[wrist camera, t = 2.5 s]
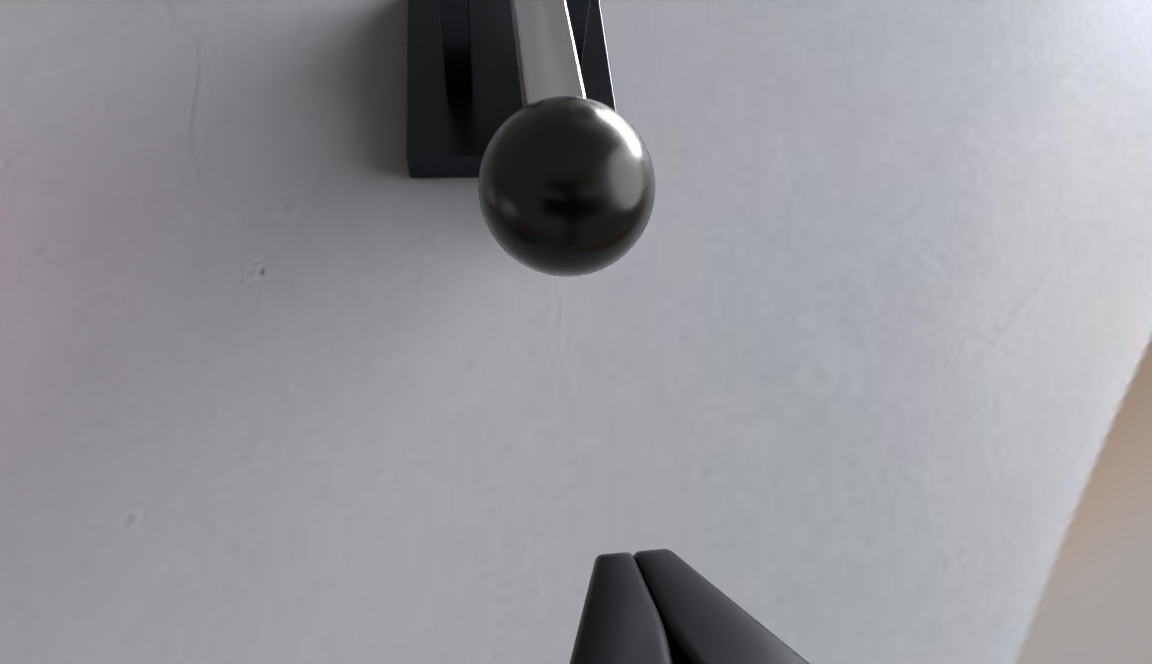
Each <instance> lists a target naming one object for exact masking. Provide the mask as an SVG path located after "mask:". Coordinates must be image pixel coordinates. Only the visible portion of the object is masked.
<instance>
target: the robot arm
mask: <svg viewBox="0 0 1152 664" xmlns="http://www.w3.org/2000/svg"><path fill="white" fill-rule="evenodd" d="M570 664H809V663H808V662H807V661H806V660H805V659H803V658H802V657H801V656H800V655H798V654H797V653H796V652H795V651H793V650H792V649H791V648H790V647H789V646H787V645H786V644H785V643H784V642H782V641H781V640H780V639H779V638H777V637H776V636H775V635H774V634H773V633H771V632H770V631H769V630H768V629H766V628H765V627H764V626H763V625H762V624H760V623H759V622H758V621H757V620H755V619H754V618H753V617H752V616H750V615H749V614H748V613H747V612H746V611H744V610H743V609H742V608H741V607H739V606H738V605H737V604H736V603H735V602H733V601H732V600H731V599H730V598H728V597H727V596H726V595H725V594H723V593H722V592H721V591H720V590H719V589H717V588H716V587H715V586H714V585H712V584H711V583H710V582H709V581H708V580H706V579H705V578H704V577H703V576H701V575H700V574H699V573H698V572H696V571H695V570H694V569H693V568H692V567H690V566H689V565H688V564H687V563H685V562H684V561H683V560H682V559H681V558H679V557H678V556H677V555H676V554H674V553H673V552H672V551H670V550H667V549H659V550H648V551H639V552H636V553H635V554H634V556H633V555H631V554H630V553H626V552H625V553H613V554H602V555H599V556H598V557H597V558H596V560H595V563H594V567H593V571H592V575H591V579H590V583H589V587H588V592H587V596H586V600H585V604H584V608H583V612H582V616H581V620H580V624H579V628H578V632H577V636H576V640H575V644H574V648H573V652H572V656H571V660H570Z"/></svg>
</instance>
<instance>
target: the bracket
mask: <svg viewBox="0 0 1152 664" xmlns="http://www.w3.org/2000/svg"><path fill="white" fill-rule="evenodd" d="M566 4H567V8H568V13H569V18H570V23H571V27H572V32H573V37H574V42H575V46H576V51H577V56H578V61H579V66H580V70H581V75H582V80H583V85H584V89H585V94H586V98H588V99H591V100H595V101H597V102H600V103H602V104H604V105H607V106H608V107H610V108H612V109H613V110H615V111H616V104H615V98H614V91H613V85H612V78H611V72H610V65H609V59H608V52H607V45H606V39H605V32H604V26H603V19H602V13H601V6H600V0H566ZM521 108H522V100H521V91H520V83H519V74H518V65H517V57H516V48H515V39H514V31H513V22H512V14H511V5H510V0H407V105H406V159H407V165H408V170H409V176H410V177H411V178H432V177H479V171H480V166H481V162H482V158H483V155H484V153H485V150H486V148H487V146H488V144H489V142H490V140H491V138H492V137H493V135H494V134H495V132H496V131H497V130H498V128H499V127H500V126H501V125H502V124H503V123H504V122H505V121H506V120H507V119H508V118H509V117H510V116H512V115H513V114H514V113H516V112H517V111H518V110H520V109H521ZM616 112H617V111H616Z"/></svg>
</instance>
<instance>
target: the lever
mask: <svg viewBox="0 0 1152 664" xmlns="http://www.w3.org/2000/svg"><path fill="white" fill-rule="evenodd" d="M510 5H511V14H512V22H513V31H514V39H515V48H516V57H517V65H518V74H519V83H520V91H521V100H522V108H521V109H520V110H518V111H517V112H516V113H514V114H513V115H512V116H510V117H509V118H508V119H507V120H506V121H505V122H504V123H503V124H502V125H501V126H500V127H499V128H498V130H497V131H496V132H495V134H494V135H493V137H492V138H491V140H490V142H489V144H488V146H487V148H486V150H485V153H484V155H483V158H482V162H481V166H480V171H479V181H478V193H479V201H480V207H481V210H482V213H483V217H484V219H485V222H486V224H487V226H488V228H489V230H490V232H491V234H492V235H493V237H494V238H495V240H496V241H497V242H498V243H499V245H500V246H501V247H502V248H503V249H504V250H505V251H506V252H507V253H508V254H509V255H510V256H511V257H513V258H514V259H515V260H517V261H518V262H519V263H521V264H523V265H524V266H526V267H528V268H530V269H533V270H535V271H538V272H541V273H544V274H549V275H553V276H567V277H570V276H580V275H585V274H590V273H593V272H596V271H599V270H601V269H603V268H605V267H607V266H609V265H611V264H613V263H614V262H616V261H617V260H619V259H620V258H621V257H622V256H624V255H625V254H626V253H627V252H628V251H629V250H630V249H631V248H632V247H633V246H634V244H635V243H636V242H637V241H638V239H639V238H640V236H641V235H642V233H643V231H644V229H645V227H646V225H647V223H648V221H649V219H650V215H651V212H652V209H653V204H654V197H655V175H654V169H653V165H652V160H651V157H650V155H649V152H648V150H647V147H646V145H645V143H644V142H643V140H642V138H641V137H640V135H639V134H638V132H637V131H636V130H635V128H634V127H633V126H632V125H631V124H630V123H629V122H628V121H627V120H626V119H625V118H624V117H623V116H622V115H620V114H619V113H618V112H616V111H615V110H613V109H612V108H610V107H608V106H607V105H604V104H602V103H600V102H597V101H595V100H591V99H588V98H586V94H585V89H584V85H583V80H582V75H581V70H580V66H579V61H578V56H577V51H576V46H575V42H574V37H573V32H572V27H571V23H570V18H569V13H568V8H567V4H566V0H510Z"/></svg>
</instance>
